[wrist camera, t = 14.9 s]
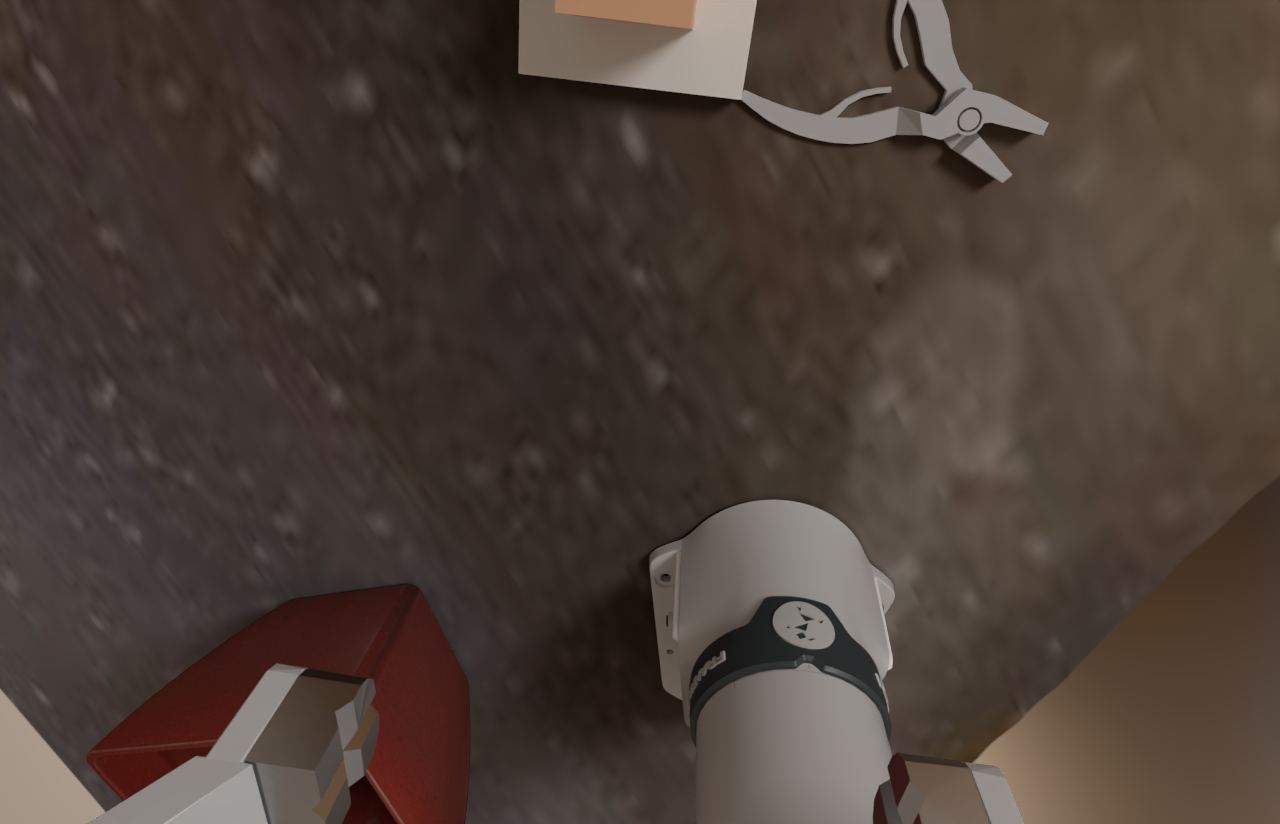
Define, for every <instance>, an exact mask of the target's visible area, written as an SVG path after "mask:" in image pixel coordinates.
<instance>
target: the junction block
mask: <svg viewBox="0 0 1280 824" xmlns="http://www.w3.org/2000/svg"><path fill="white" fill-rule="evenodd" d="M756 3H757V0H697V3H696V11H695V19H694V27H693V30H690V29H682V28H673V27H665V26H657V25H648V24H640V23H632V22H623V21H615V20H607V19H598V18H590V17H582V16H574V15H568V14H562V13H555V0H520V1H519V66H518V74H526V75H534V76H543V77H551V78H560V79H568V80H577V81H585V82H594V83H602V84H610V85H619V86H627V87H636V88H644V89H653V90H661V91H670V92H678V93H687V94H695V95H703V96H712V97H720V98H729V99H737V100H741V98H742V92H743V85H744V79H745V73H746V66H747V60H748V54H749V47H750V41H751V35H752V28H753V22H754V15H755V9H756Z"/></svg>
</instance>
